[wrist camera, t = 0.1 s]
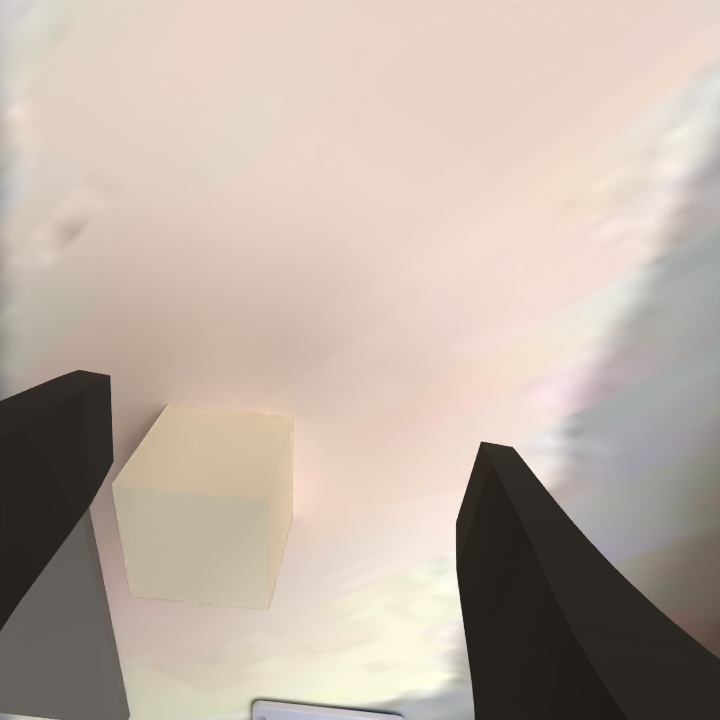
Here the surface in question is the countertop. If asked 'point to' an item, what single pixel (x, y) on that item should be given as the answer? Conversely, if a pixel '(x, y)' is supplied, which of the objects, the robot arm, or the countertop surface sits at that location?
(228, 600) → the cream cube
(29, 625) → the charcoal mat
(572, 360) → the countertop surface
